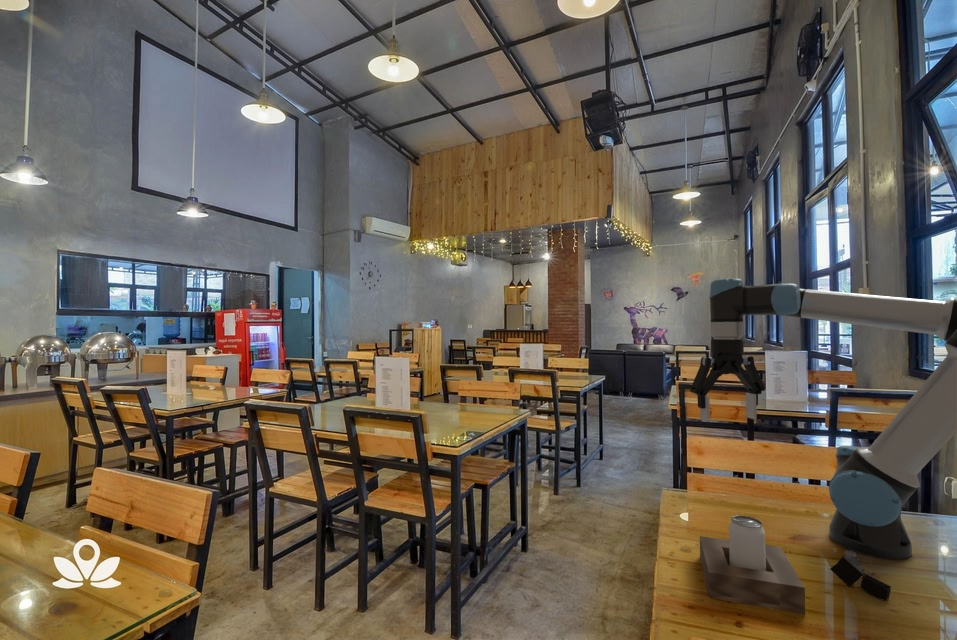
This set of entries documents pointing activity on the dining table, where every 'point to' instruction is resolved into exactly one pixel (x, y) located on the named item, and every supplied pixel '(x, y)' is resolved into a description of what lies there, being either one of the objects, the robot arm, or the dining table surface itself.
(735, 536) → the can
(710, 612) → the dining table surface
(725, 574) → the socket block
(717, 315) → the robot arm
